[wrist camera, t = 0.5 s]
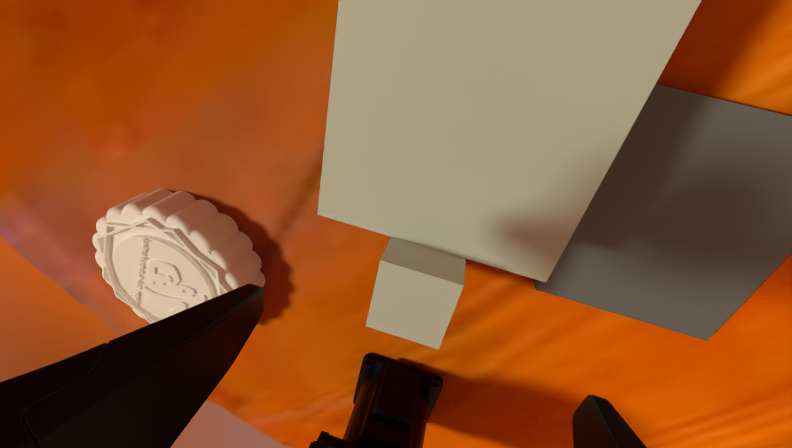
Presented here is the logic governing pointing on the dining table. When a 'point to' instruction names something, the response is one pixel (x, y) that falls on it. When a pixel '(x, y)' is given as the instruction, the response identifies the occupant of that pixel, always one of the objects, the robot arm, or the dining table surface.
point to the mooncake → (172, 253)
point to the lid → (480, 133)
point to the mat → (684, 215)
